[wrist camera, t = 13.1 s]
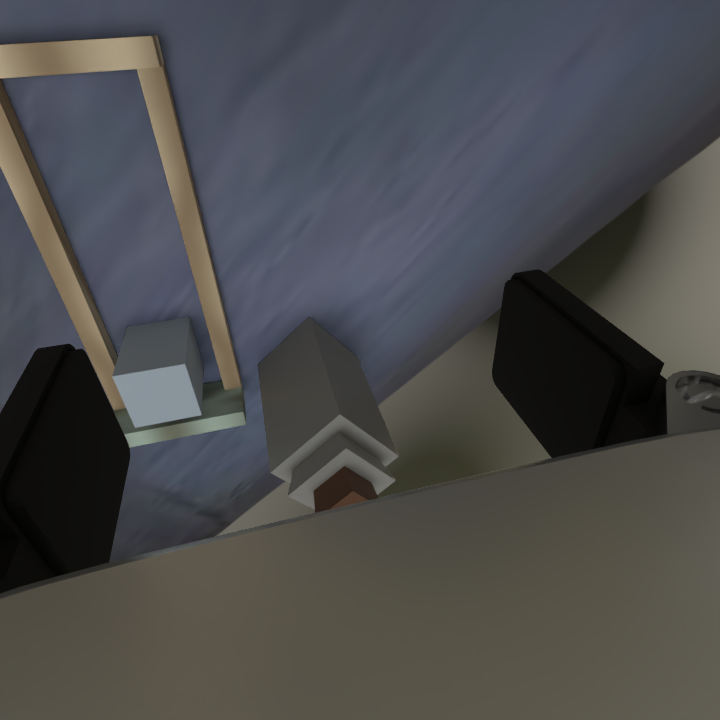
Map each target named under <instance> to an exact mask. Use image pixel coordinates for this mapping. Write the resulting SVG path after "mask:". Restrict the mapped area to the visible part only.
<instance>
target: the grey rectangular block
mask: <svg viewBox="0 0 720 720" xmlns="http://www.w3.org/2000/svg"><path fill="white" fill-rule="evenodd" d="M203 373H204V364H203V360H202V357H201V354H200V350H199V347H198V343H197V340H196V337H195V333H194V330H193V327H192V323H191V320H190V317H186V318H180V319H174V320H167V321H161V322H154V323H148V324H142V325H135V326H129V327H127V329H126V332H125V335H124V339H123V342H122V345H121V349H120V352H119V355H118V359H117V362H116V365H115V369H114V372H113V375H112V377H113V380H114V382H115V384H116V386H117V389H118V391H119V393H120V395H121V398H122V400H123V402H124V404H125V407H126V409H127V411H128V413H129V416H130V418H131V420H132V422H133V424H134V427H135V428H137V427H142V426H147V425H153V424H158V423H163V422H168V421H174V420H179V419H184V418H189V417H195V416H200V415H202V397H203Z"/></svg>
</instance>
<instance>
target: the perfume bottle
mask: <svg viewBox="0 0 720 720" xmlns="http://www.w3.org/2000/svg"><path fill="white" fill-rule="evenodd" d="M258 372H259V380H260V389H261V397H262V406H263V414H264V423H265V431H266V440H267V448H268V457H269V465H270V473H272V474H274V475H275V476H277V477H279V478H281V479H283V480H285V481H287V482H289V483H290V487H289V492H288V496H289V497H291V498H293V499H295V500H297V501H299V502H301V503H302V504H305V505H306V506H308V507H310V508H312V509H314V510H315V513H317V512H321V511H325V510H329V509H334V508H338V507H342V506H347V505H351V504H355V503H359V502H364V501H368V500H372V499H376V498H378V494H379V493H380V492H381V491H383V490H384V489H385V488H387V487H388V486H389V485H390V484H392V483H393V482H394V481H396V480H395V479H394V478H393V476H392V475H391V474H390V473H389V471H388V470H387V469H386V466H387V465H388V464H389V463H391V462H392V461H393V460H395V459H396V458H397V457H398V456H399V455H398V453H397V450H396V448H395V446H394V443H393V441H392V438H391V436H390V434H389V431H388V429H387V427H386V424H385V422H384V419H383V417H382V415H381V412H380V410H379V408H378V405H377V403H376V400H375V398H374V396H373V393H372V391H371V389H370V386H369V384H368V381H367V379H366V377H365V374H364V372H363V370H362V367H361V365H360V362H359V360H358V358H357V356H356V355H354V354H353V353H352V352H351V351H350V350H348V349H347V348H346V347H345V346H344V345H342V344H341V343H340V342H339V341H338V340H336V339H335V338H334V337H333V336H332V335H330V334H329V333H328V332H327V331H326V330H324V329H323V328H322V327H321V326H320V325H319V324H317V323H316V322H315V321H314V320H313V319H311V318H310V317H308V318H307V319H306V320H305V321H304V322H303V323H302V324H301V325H300V326H299V327H298V328H297V329H295V330H294V331H293V332H292V333H291V334H290V335H289V336H288V337H287V338H286V339H285V340H284V341H282V342H281V343H280V344H279V345H278V346H277V347H276V348H275V349H274V350H273V351H272V352H271V353H270V354H268V355H267V356H266V357H265V358H264V359H263V360H262V361H261V362H260V363H259V364H258Z"/></svg>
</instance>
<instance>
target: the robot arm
mask: <svg viewBox="0 0 720 720" xmlns="http://www.w3.org/2000/svg"><path fill="white" fill-rule="evenodd" d="M663 365H664V363H663V362H662V361H661V360H659V359H658V358H657V357H655V356H654V355H653V354H651V353H650V352H649V351H647V350H646V349H645V348H643V347H642V346H641V345H639V344H638V343H637V342H635V341H634V340H633V339H631V338H630V337H629V336H628V335H626V334H625V333H624V332H622V331H621V330H620V329H618V328H617V327H616V326H614V325H613V324H612V323H610V322H609V321H608V320H606V319H605V318H604V317H602V316H601V315H600V314H598V313H597V312H596V311H594V310H593V309H592V308H590V307H589V306H588V305H586V304H585V303H583V302H582V301H581V300H580V299H578V298H577V297H576V296H575V295H573V294H572V293H571V292H569V291H568V290H567V289H565V288H564V287H563V286H561V285H560V284H559V283H557V282H556V281H555V280H553V279H552V278H551V277H549V276H548V275H547V274H545V273H544V272H543V271H541V270H531V271H525V272H519V273H515V274H514V275H513V276H512V278H511V280H508V281H507V282H506V284H505V287H504V293H503V300H502V307H501V314H500V320H499V328H498V335H497V341H496V348H495V355H494V361H493V369H492V377H493V380H494V383H495V385H496V386H497V388H498V389H499V390H500V392H501V393H502V394H503V395H504V397H505V398H506V399H507V401H508V402H509V403H510V405H511V406H512V407H513V408H514V410H515V411H516V412H517V414H518V415H519V416H520V418H521V419H522V420H523V421H524V423H525V424H526V425H527V427H528V428H529V429H530V430H531V432H532V433H533V434H534V436H535V437H536V438H537V439H538V441H539V442H540V443H541V444H542V446H543V447H544V449H545V450H546V451H547V452H548V454H549V455H550V456H551V457H552V458H551V459H547V460H542V461H538V462H533V463H529V464H524V465H520V466H515V467H511V468H507V469H502V470H499V471H494V472H489V473H485V474H480V475H476V476H472V477H467V478H463V479H458V480H454V481H450V482H445V483H441V484H437V485H433V486H428V487H424V488H420V489H415V490H411V491H407V492H402V493H398V494H394V495H390V496H385V497H381V498H376V499H372V500H368V501H364V502H359V503H355V504H351V505H347V506H342V507H338V508H334V509H329V510H325V511H321V512H317V513H312V514H308V515H304V516H300V517H296V518H291V519H287V520H283V521H279V522H275V523H270V524H266V525H262V526H258V527H254V528H250V529H245V530H241V531H237V532H233V533H228V534H225V535H220V536H216V537H212V538H207V539H203V540H199V541H195V542H191V543H186V544H182V545H178V546H174V547H170V548H166V549H162V550H158V551H154V552H150V553H145V554H141V555H137V556H133V557H129V558H125V559H121V560H117V561H113V562H109V560H110V555H111V550H112V545H113V540H114V535H115V530H116V525H117V520H118V515H119V510H120V505H121V500H122V495H123V490H124V485H125V480H126V476H127V471H128V466H129V461H130V448H129V444H128V442H127V439H126V437H125V435H124V433H123V431H122V429H121V426H120V424H119V422H118V420H117V418H116V416H115V414H114V411H113V409H112V407H111V405H110V403H109V401H108V399H107V396H106V394H105V392H104V390H103V388H102V386H101V384H100V381H99V379H98V377H97V375H96V373H95V371H94V369H93V366H92V364H91V362H90V360H89V358H88V356H87V354H86V352H85V351H84V350H83V349H77V350H76V349H75V348H74V347H73V346H72V345H71V344H64V345H58V346H51V347H45V348H39V349H37V350H36V351H35V352H34V354H33V356H32V358H31V359H30V361H29V363H28V365H27V367H26V368H25V370H24V372H23V374H22V375H21V377H20V379H19V381H18V383H17V384H16V386H15V388H14V390H13V392H12V393H11V395H10V397H9V399H8V400H7V402H6V404H5V406H4V408H3V409H2V411H1V413H0V720H720V375H716V374H713V373H709V372H704V371H696V370H691V371H680V372H677V373H674V374H672V375H671V376H670V377H668V379H667V380H666V379H665V378H664V377H663V376H661V375H660V372H661V370H662V367H663Z"/></svg>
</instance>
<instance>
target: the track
mask: <svg viewBox="0 0 720 720" xmlns="http://www.w3.org/2000/svg"><path fill="white" fill-rule="evenodd" d="M130 69H137V72H138V76H139V79H140V83H141V87H142V90H143V94H144V98H145V101H146V105H147V109H148V112H149V116H150V120H151V123H152V127H153V130H154V134H155V138H156V141H157V145H158V149H159V152H160V156H161V160H162V163H163V167H164V171H165V174H166V178H167V182H168V185H169V189H170V192H171V196H172V200H173V203H174V207H175V211H176V214H177V218H178V222H179V225H180V229H181V233H182V236H183V240H184V244H185V247H186V251H187V254H188V258H189V262H190V265H191V269H192V273H193V276H194V280H195V284H196V287H197V291H198V295H199V298H200V302H201V306H202V309H203V313H204V316H205V320H206V324H207V327H208V331H209V335H210V338H211V342H212V346H213V349H214V353H215V357H216V360H217V364H218V368H219V371H220V375H221V378H222V381H217V382H212V383H206V384H203V397H202V415H200V416H195V417H189V418H184V419H179V420H174V421H168V422H163V423H158V424H153V425H147V426H142V427H137V428H135V427H134V424H133V422H132V420H131V418H130V416H129V413H128V411H127V409H126V407H125V404H124V402H123V400H122V398H121V395H120V393H119V391H118V389H117V386H116V384H115V382H114V380H113V377H112V375H113V372H114V369H115V365H116V362H117V359H118V356H117V354H116V352H115V349H114V347H113V345H112V342H111V340H110V337H109V335H108V333H107V330H106V328H105V326H104V323H103V321H102V318H101V316H100V314H99V311H98V309H97V307H96V304H95V302H94V299H93V297H92V295H91V292H90V290H89V288H88V285H87V283H86V281H85V278H84V276H83V273H82V271H81V269H80V266H79V264H78V262H77V259H76V257H75V254H74V252H73V250H72V247H71V245H70V243H69V240H68V238H67V236H66V233H65V231H64V228H63V226H62V224H61V221H60V219H59V217H58V214H57V212H56V209H55V207H54V205H53V202H52V200H51V198H50V195H49V193H48V190H47V188H46V186H45V183H44V181H43V179H42V176H41V174H40V172H39V169H38V167H37V164H36V162H35V160H34V157H33V155H32V153H31V150H30V148H29V145H28V143H27V141H26V138H25V136H24V134H23V131H22V129H21V126H20V124H19V122H18V119H17V117H16V115H15V112H14V110H13V108H12V105H11V103H10V100H9V98H8V96H7V93H6V91H5V89H4V86H3V84H2V81H1V79H0V166H1V168H2V171H3V173H4V175H5V177H6V179H7V181H8V183H9V186H10V188H11V190H12V192H13V194H14V196H15V199H16V201H17V203H18V205H19V207H20V209H21V211H22V214H23V216H24V218H25V220H26V222H27V224H28V226H29V229H30V231H31V233H32V235H33V237H34V239H35V242H36V244H37V246H38V248H39V250H40V252H41V254H42V257H43V259H44V261H45V263H46V265H47V267H48V269H49V272H50V274H51V276H52V278H53V280H54V282H55V285H56V287H57V289H58V291H59V293H60V295H61V297H62V300H63V302H64V304H65V306H66V308H67V310H68V312H69V315H70V317H71V319H72V321H73V323H74V325H75V328H76V330H77V332H78V334H79V336H80V338H81V340H82V343H83V345H84V347H85V349H86V351H87V353H88V355H89V358H90V360H91V362H92V364H93V366H94V368H95V371H96V373H97V375H98V377H99V379H100V381H101V383H102V386H103V388H104V390H105V392H106V394H107V396H108V398H109V401H110V403H111V405H112V407H113V409H114V414H115V416H116V418H117V420H118V422H119V424H120V426H121V429H122V431H123V433H124V435H125V437H126V439H127V442H128V444H129V447H134V446H139V445H145V444H150V443H155V442H160V441H165V440H170V439H175V438H180V437H185V436H190V435H195V434H201V433H206V432H211V431H216V430H221V429H226V428H231V427H236V426H241V425H246V414H245V400H244V389H243V384H242V380H241V376H240V372H239V368H238V364H237V360H236V356H235V352H234V348H233V343H232V339H231V335H230V331H229V327H228V323H227V319H226V315H225V311H224V306H223V302H222V298H221V294H220V290H219V286H218V282H217V278H216V274H215V270H214V265H213V261H212V257H211V253H210V249H209V245H208V241H207V237H206V233H205V229H204V224H203V220H202V216H201V212H200V208H199V204H198V200H197V196H196V192H195V187H194V183H193V179H192V175H191V171H190V167H189V163H188V159H187V155H186V151H185V146H184V142H183V138H182V134H181V130H180V126H179V122H178V118H177V114H176V110H175V105H174V101H173V97H172V93H171V89H170V85H169V81H168V77H167V73H166V68H165V64H164V60H163V56H162V52H161V48H160V44H159V40H158V36H157V35H154V36H137V37H120V38H103V39H86V40H68V41H51V42H34V43H17V44H0V78H14V77H29V76H43V75H58V74H72V73H86V72H101V71H115V70H130Z"/></svg>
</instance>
